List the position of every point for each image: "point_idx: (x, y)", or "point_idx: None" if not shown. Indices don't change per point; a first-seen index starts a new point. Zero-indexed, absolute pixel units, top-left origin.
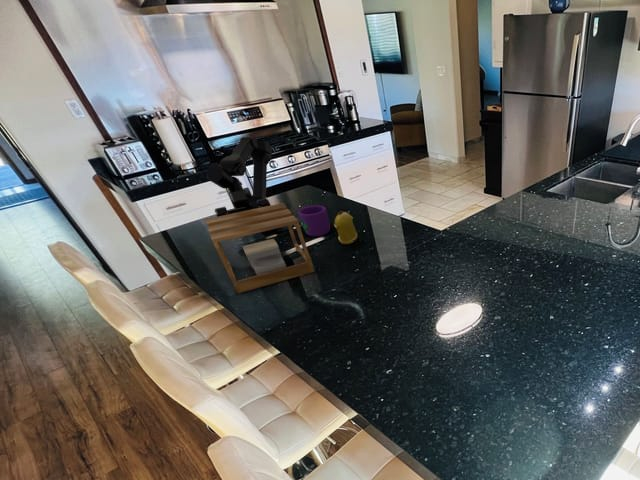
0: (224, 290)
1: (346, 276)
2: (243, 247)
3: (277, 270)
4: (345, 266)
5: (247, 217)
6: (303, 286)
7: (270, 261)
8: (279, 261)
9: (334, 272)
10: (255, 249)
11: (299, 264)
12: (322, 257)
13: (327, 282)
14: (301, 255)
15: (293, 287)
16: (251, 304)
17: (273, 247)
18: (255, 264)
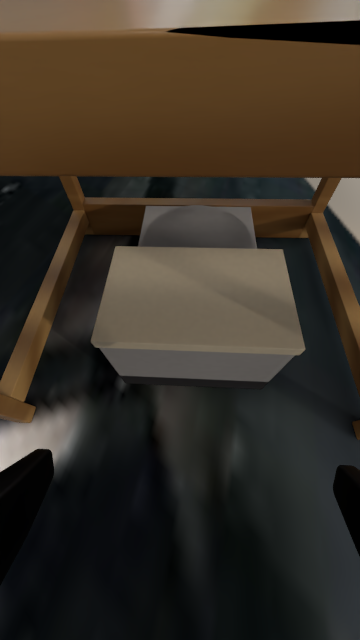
0: (351, 265)
1: (47, 179)
2: (295, 324)
3: (182, 200)
4: (11, 212)
5: (226, 32)
6: (146, 188)
7: (187, 229)
8: (159, 214)
9: (53, 202)
10: (228, 262)
11: (111, 200)
12: (8, 291)
13: (95, 178)
14: (60, 289)
15: (168, 194)
16: (271, 182)
17: (141, 250)
18: (244, 236)
